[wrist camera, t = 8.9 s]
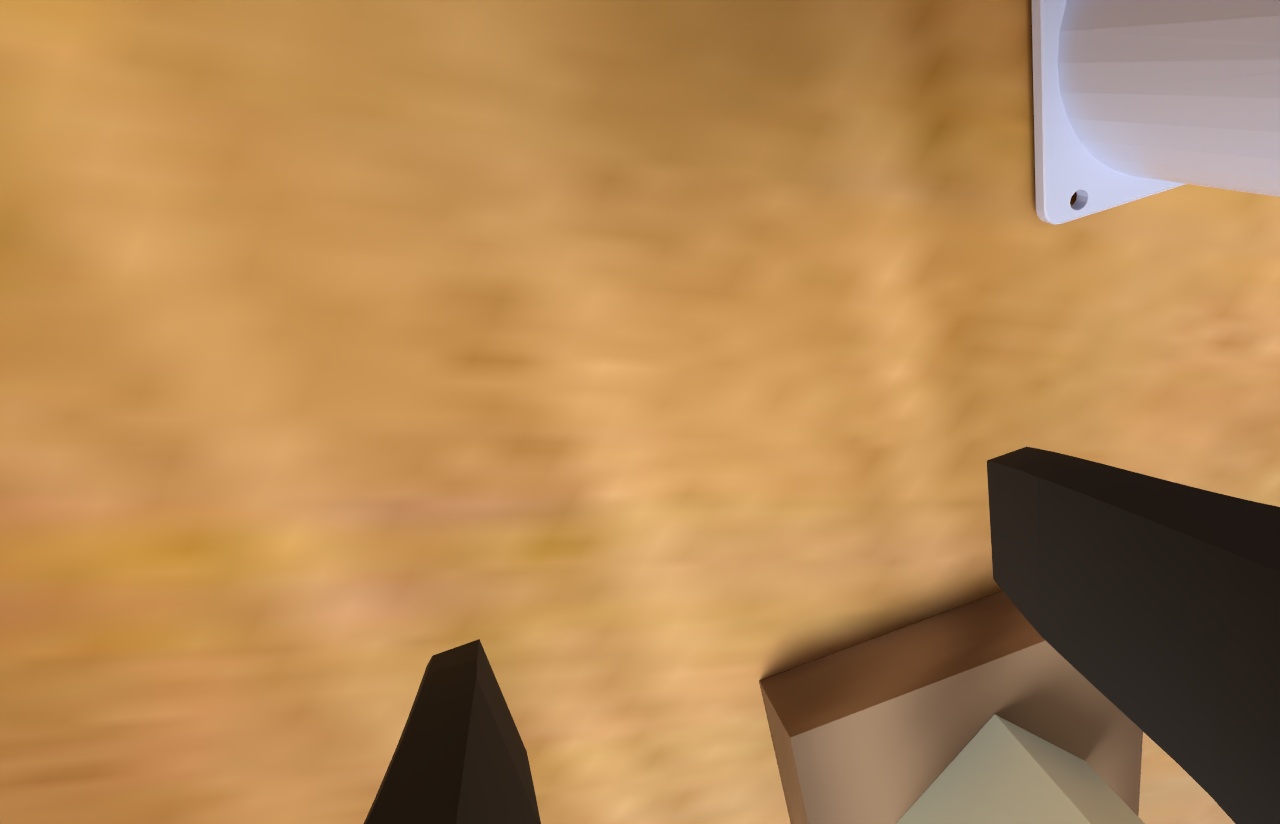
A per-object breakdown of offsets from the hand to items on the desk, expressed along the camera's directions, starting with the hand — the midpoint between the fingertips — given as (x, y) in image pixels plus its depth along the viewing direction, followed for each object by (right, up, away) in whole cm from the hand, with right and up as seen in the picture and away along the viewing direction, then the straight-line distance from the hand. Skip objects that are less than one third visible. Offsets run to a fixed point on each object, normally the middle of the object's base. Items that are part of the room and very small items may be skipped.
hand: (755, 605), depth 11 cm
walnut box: (+9, -9, +18) cm, 23 cm away
